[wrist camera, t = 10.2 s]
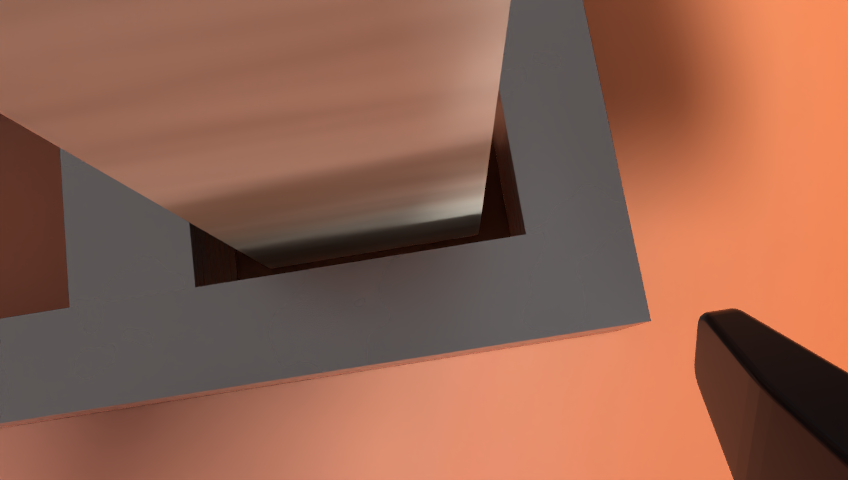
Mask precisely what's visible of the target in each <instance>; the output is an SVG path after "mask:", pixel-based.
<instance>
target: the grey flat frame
mask: <svg viewBox="0 0 848 480" xmlns="http://www.w3.org/2000/svg"><path fill="white" fill-rule="evenodd" d="M492 137H493V142H494V148H495V153H496V159H497V165H498V170H499V176H500V181H501V187H502V192H503V198H504V203H505V209H506V215H507V220H508V226H509V231H510V237H507V238H500V239H494V240H488V241H482V242H475V243H469V244H463V245H457V246H450V247H444V248H438V249H432V250H425V251H419V252H413V253H407V254H400V255H394V256H388V257H382V258H375V259H369V260H363V261H357V262H351V263H344V264H338V265H332V266H326V267H319V268H313V269H307V270H301V271H294V272H288V273H282V274H276V275H269V276H263V277H257V278H251V279H244V280H238V275H237V265H236V256H235V248H233V247H231V246H229V245H228V244H226V243H224V242H223V241H221V240H219V239H217V238H216V237H214V236H212V235H210V234H209V233H207V232H205V231H203V230H202V229H200V228H198V227H197V226H195V225H193V224H191V223H190V222H188V221H186V220H184V219H183V218H181V217H179V216H177V215H176V214H174V213H172V212H170V211H169V210H167V209H165V208H164V207H162V206H160V205H158V204H157V203H155V202H153V201H151V200H150V199H148V198H146V197H144V196H143V195H141V194H139V193H138V192H136V191H134V190H132V189H131V188H129V187H127V186H125V185H124V184H122V183H120V182H118V181H117V180H115V179H113V178H111V177H110V176H108V175H106V174H105V173H103V172H101V171H99V170H98V169H96V168H94V167H92V166H91V165H89V164H87V163H85V162H84V161H82V160H80V159H79V158H77V157H75V156H73V155H72V154H70V153H68V152H66V151H65V150H63V149H61V148H60V161H61V177H62V194H63V210H64V226H65V243H66V259H67V275H68V292H69V308H63V309H57V310H51V311H45V312H38V313H32V314H26V315H20V316H13V317H7V318H1V319H0V428H4V427H10V426H16V425H23V424H29V423H36V422H42V421H48V420H55V419H61V418H67V417H74V416H80V415H86V414H93V413H99V412H105V411H112V410H118V409H124V408H131V407H137V406H143V405H150V404H156V403H163V402H169V401H175V400H182V399H188V398H194V397H201V396H207V395H213V394H220V393H226V392H232V391H239V390H245V389H251V388H258V387H264V386H270V385H277V384H283V383H290V382H296V381H302V380H309V379H315V378H321V377H328V376H334V375H340V374H347V373H353V372H359V371H366V370H372V369H378V368H385V367H391V366H397V365H404V364H410V363H417V362H423V361H429V360H436V359H442V358H448V357H455V356H461V355H467V354H474V353H480V352H486V351H493V350H499V349H505V348H512V347H518V346H524V345H531V344H537V343H544V342H550V341H556V340H563V339H569V338H575V337H582V336H588V335H594V334H601V333H607V332H613V331H618V330H622V329H625V328H629V327H632V326H635V325H639V324H642V323H645V322H649V321H651V319H650V314H649V310H648V305H647V300H646V296H645V291H644V286H643V282H642V277H641V272H640V267H639V263H638V258H637V253H636V249H635V244H634V239H633V235H632V230H631V225H630V220H629V216H628V211H627V206H626V202H625V197H624V192H623V188H622V183H621V178H620V173H619V169H618V164H617V159H616V155H615V150H614V145H613V141H612V136H611V131H610V127H609V122H608V117H607V112H606V108H605V103H604V98H603V94H602V89H601V84H600V80H599V75H598V70H597V65H596V61H595V56H594V51H593V47H592V42H591V37H590V33H589V28H588V23H587V18H586V14H585V9H584V4H583V0H511V2H510V9H509V17H508V24H507V31H506V39H505V46H504V53H503V61H502V68H501V75H500V83H499V90H498V97H497V104H496V112H495V119H494V126H493V134H492Z"/></svg>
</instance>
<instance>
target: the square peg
mask: <svg viewBox="0 0 848 480" xmlns="http://www.w3.org/2000/svg"><path fill="white" fill-rule="evenodd" d="M510 2H511V0H0V114H2V115H4V116H6V117H7V118H9V119H11V120H13V121H14V122H16V123H18V124H20V125H21V126H23V127H25V128H26V129H28V130H30V131H32V132H33V133H35V134H37V135H39V136H40V137H42V138H44V139H46V140H47V141H49V142H51V143H52V144H54V145H56V146H58V147H59V148H61V149H63V150H65V151H66V152H68V153H70V154H72V155H73V156H75V157H77V158H79V159H80V160H82V161H84V162H85V163H87V164H89V165H91V166H92V167H94V168H96V169H98V170H99V171H101V172H103V173H105V174H106V175H108V176H110V177H111V178H113V179H115V180H117V181H118V182H120V183H122V184H124V185H125V186H127V187H129V188H131V189H132V190H134V191H136V192H138V193H139V194H141V195H143V196H144V197H146V198H148V199H150V200H151V201H153V202H155V203H157V204H158V205H160V206H162V207H164V208H165V209H167V210H169V211H170V212H172V213H174V214H176V215H177V216H179V217H181V218H183V219H184V220H186V221H188V222H190V223H191V224H193V225H195V226H197V227H198V228H200V229H202V230H203V231H205V232H207V233H209V234H210V235H212V236H214V237H216V238H217V239H219V240H221V241H223V242H224V243H226V244H228V245H229V246H231V247H233V248H235V249H236V250H238V251H240V252H242V253H243V254H245V255H247V256H249V257H250V258H252V259H254V260H256V261H257V262H259V263H261V264H262V265H264V266H266V267H268V268H269V269H272V268H278V267H284V266H290V265H296V264H302V263H309V262H315V261H321V260H327V259H333V258H339V257H346V256H352V255H358V254H364V253H370V252H376V251H383V250H389V249H395V248H401V247H407V246H413V245H420V244H426V243H432V242H438V241H444V240H450V239H456V238H463V237H469V236H475V235H479V229H480V222H481V214H482V207H483V200H484V192H485V185H486V178H487V170H488V163H489V156H490V148H491V141H492V134H493V126H494V119H495V112H496V104H497V97H498V90H499V83H500V75H501V68H502V61H503V53H504V46H505V39H506V31H507V24H508V17H509V9H510Z"/></svg>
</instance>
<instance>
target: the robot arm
mask: <svg viewBox="0 0 848 480" xmlns="http://www.w3.org/2000/svg"><path fill="white" fill-rule="evenodd" d="M695 375H696V379H697V383H698V386H699V389H700V391H701V394H702V397H703V399H704V402H705V405H706V407H707V410H708V413H709V415H710V418H711V421H712V423H713V426H714V429H715V431H716V434H717V437H718V439H719V442H720V445H721V447H722V450H723V453H724V455H725V458H726V460H727V463H728V466H729V468H730V471H731V474H732V476H733V479H734V480H848V373H847V372H846V371H844V370H842V369H841V368H839V367H837V366H835V365H834V364H832V363H830V362H829V361H827V360H825V359H824V358H822V357H820V356H818V355H817V354H815V353H813V352H812V351H810V350H808V349H806V348H805V347H803V346H801V345H800V344H798V343H796V342H794V341H793V340H791V339H789V338H788V337H786V336H784V335H782V334H781V333H779V332H777V331H776V330H774V329H772V328H770V327H769V326H767V325H765V324H764V323H762V322H760V321H758V320H757V319H755V318H753V317H752V316H750V315H748V314H747V313H745V312H743V311H741V310H738V309H725V310H719V311H712V312H707V313H704V314H703V315H701V317H700V319H699V322H698V329H697V341H696V352H695Z"/></svg>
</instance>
